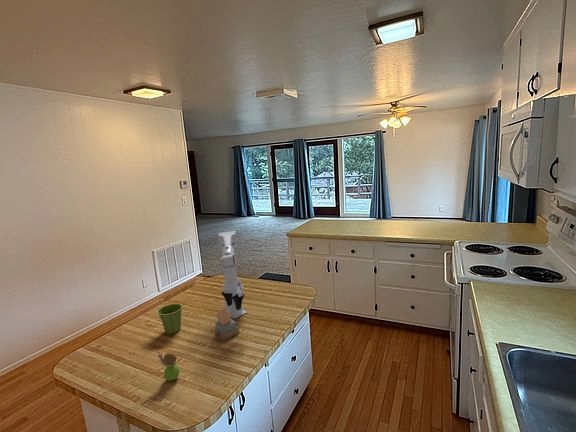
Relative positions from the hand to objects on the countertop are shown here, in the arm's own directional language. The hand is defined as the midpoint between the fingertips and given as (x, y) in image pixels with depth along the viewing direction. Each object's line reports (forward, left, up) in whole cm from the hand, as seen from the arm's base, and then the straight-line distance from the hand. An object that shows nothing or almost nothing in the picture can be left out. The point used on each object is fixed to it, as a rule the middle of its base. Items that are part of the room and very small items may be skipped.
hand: (234, 307), depth 145 cm
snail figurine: (+11, -37, -11) cm, 40 cm away
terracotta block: (0, -6, -5) cm, 8 cm away
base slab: (+1, -6, -11) cm, 12 cm away
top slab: (+1, -6, -8) cm, 10 cm away
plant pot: (-24, -21, -11) cm, 34 cm away
